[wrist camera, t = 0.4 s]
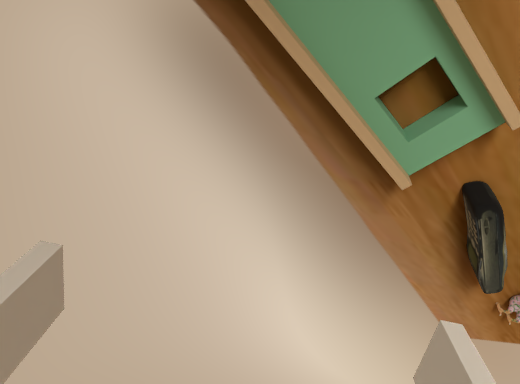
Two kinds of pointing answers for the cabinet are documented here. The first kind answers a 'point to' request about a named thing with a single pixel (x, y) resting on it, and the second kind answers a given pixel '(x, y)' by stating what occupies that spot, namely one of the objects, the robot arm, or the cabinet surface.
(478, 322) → the cabinet surface
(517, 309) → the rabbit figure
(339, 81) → the putting strip
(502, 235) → the mobile phone
